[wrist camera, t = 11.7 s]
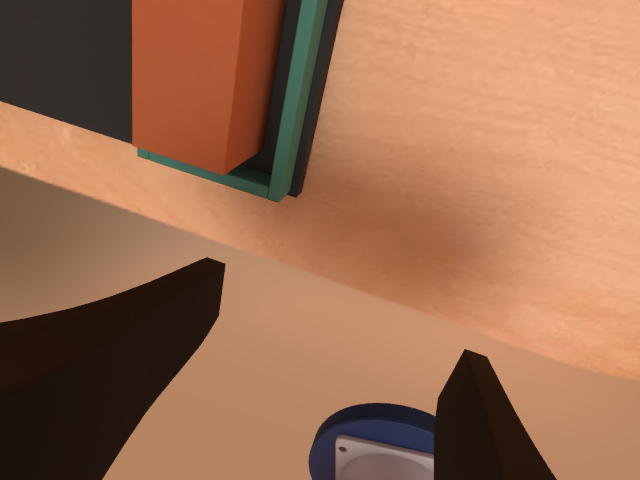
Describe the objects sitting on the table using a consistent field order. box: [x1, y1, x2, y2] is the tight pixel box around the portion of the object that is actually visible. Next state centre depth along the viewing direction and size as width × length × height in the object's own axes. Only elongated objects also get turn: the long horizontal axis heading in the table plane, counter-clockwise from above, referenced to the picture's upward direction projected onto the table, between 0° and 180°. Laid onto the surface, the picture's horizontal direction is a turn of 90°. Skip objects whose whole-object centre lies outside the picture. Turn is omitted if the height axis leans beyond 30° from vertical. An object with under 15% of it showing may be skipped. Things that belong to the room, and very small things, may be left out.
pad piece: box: [132, 0, 286, 175], centre depth 16 cm, size 4×8×4 cm, turn 167°
